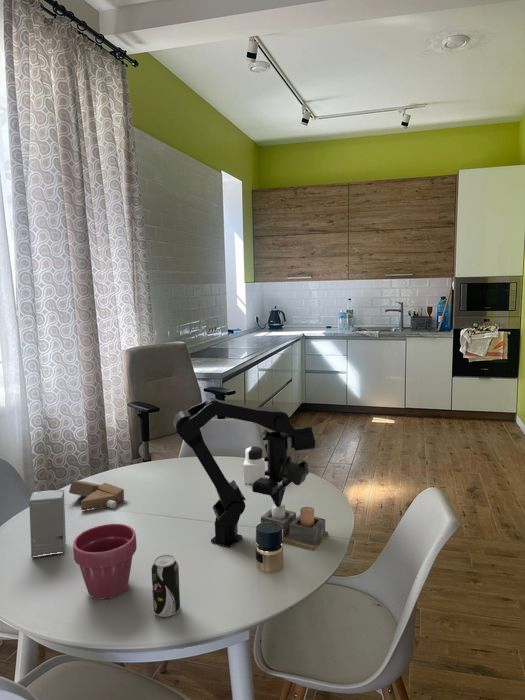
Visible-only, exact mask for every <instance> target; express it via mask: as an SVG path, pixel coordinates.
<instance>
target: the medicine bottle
mask: <svg viewBox="0 0 525 700" xmlns="http://www.w3.org/2000/svg"><path fill="white" fill-rule="evenodd" d="M244 454H245V459H244V462H243V464H242V473H243V474H242V477H243V481H242V482H243V484H244V485H252V484H253V483H254V482H255V481H257V480H258V479H260V478H261V477H262V478H266V475H265V471H266V461H264V458H265V457H264V458H263V449H262V448H261V447H259V446H249V447H247V448H245V452H244Z"/></svg>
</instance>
